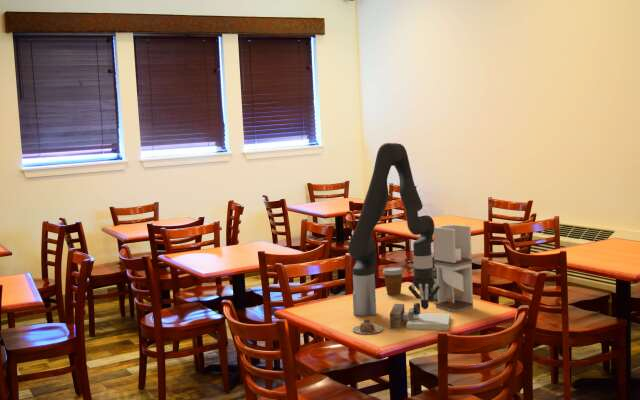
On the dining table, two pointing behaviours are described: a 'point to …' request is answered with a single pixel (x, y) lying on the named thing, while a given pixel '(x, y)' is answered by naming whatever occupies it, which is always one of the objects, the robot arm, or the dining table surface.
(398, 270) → the disposable coffee cup
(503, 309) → the dining table surface
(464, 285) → the display case
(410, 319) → the door board
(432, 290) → the coffee jar
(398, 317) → the block
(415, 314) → the bolt
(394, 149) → the robot arm
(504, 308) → the dining table surface
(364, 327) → the pastry
